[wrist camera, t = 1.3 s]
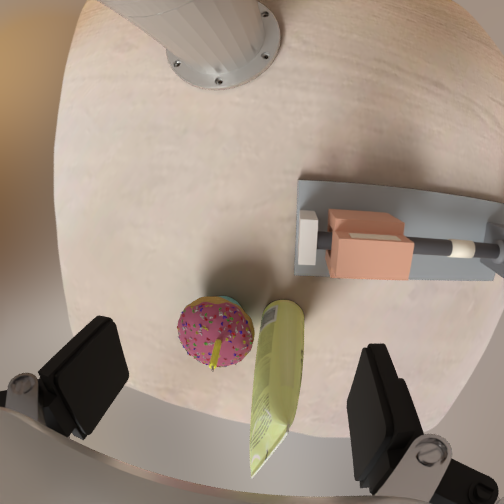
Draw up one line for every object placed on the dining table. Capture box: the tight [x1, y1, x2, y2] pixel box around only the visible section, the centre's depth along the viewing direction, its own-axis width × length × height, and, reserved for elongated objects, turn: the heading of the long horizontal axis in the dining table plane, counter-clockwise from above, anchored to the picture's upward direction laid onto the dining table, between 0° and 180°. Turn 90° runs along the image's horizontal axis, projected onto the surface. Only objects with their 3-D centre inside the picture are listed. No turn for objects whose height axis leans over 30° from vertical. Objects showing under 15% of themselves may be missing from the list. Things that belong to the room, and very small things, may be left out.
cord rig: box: [294, 180, 504, 281], centre depth 25 cm, size 27×10×8 cm, turn 90°
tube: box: [250, 300, 304, 478], centre depth 25 cm, size 6×5×20 cm
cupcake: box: [177, 296, 255, 372], centre depth 29 cm, size 9×8×12 cm
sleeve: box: [325, 209, 414, 280], centre depth 24 cm, size 6×5×8 cm
